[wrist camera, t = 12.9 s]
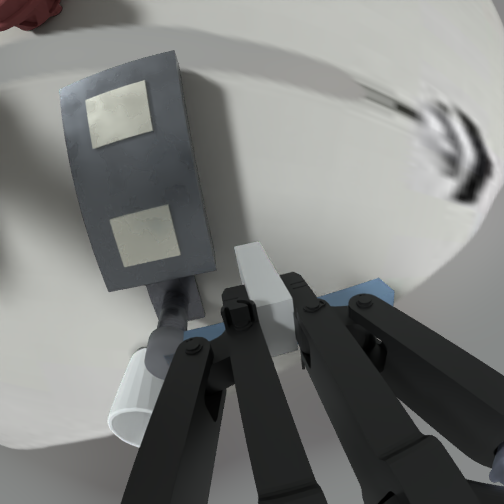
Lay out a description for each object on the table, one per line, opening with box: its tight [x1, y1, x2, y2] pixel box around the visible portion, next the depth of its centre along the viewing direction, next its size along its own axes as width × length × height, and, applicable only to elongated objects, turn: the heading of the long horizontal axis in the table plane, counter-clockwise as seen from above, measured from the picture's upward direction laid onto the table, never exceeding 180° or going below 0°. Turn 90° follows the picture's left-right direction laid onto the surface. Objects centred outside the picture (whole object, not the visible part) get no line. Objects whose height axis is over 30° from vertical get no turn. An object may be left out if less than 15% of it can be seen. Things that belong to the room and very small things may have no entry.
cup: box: [108, 347, 164, 448], centre depth 32 cm, size 10×10×13 cm
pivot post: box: [146, 275, 205, 331], centre depth 30 cm, size 6×6×9 cm
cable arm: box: [144, 278, 394, 380], centre depth 25 cm, size 24×4×3 cm, turn 102°
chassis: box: [59, 50, 216, 292], centre depth 26 cm, size 12×22×5 cm, turn 9°
